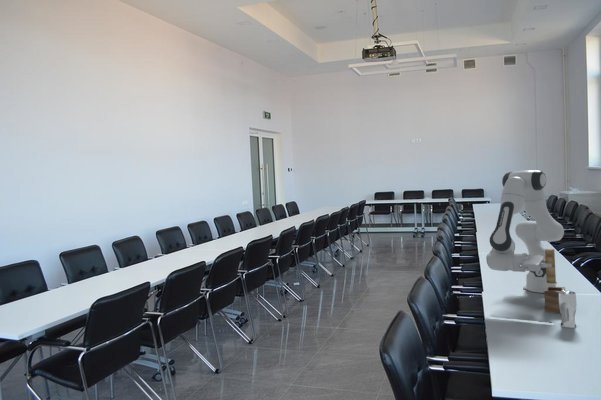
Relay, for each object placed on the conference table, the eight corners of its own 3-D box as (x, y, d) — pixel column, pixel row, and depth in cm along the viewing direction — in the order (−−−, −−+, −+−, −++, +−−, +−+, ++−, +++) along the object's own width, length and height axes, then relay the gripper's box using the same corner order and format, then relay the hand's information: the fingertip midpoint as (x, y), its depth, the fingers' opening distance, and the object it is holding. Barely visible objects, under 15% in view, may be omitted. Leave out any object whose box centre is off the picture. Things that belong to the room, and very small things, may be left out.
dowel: (546, 281, 239) (545, 248, 237) (556, 281, 237) (554, 248, 235) (546, 283, 235) (544, 250, 234) (555, 283, 233) (554, 250, 232)
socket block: (547, 305, 243) (546, 286, 242) (565, 307, 239) (565, 287, 238) (545, 311, 235) (544, 291, 234) (563, 313, 230) (563, 292, 230)
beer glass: (575, 323, 219) (573, 290, 218) (579, 328, 212) (578, 294, 211) (557, 323, 221) (556, 290, 220) (561, 328, 214) (560, 294, 213)
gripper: (517, 260, 233) (549, 262, 226) (524, 252, 250) (554, 253, 243) (517, 273, 234) (550, 275, 226) (524, 264, 251) (555, 266, 243)
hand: (552, 264), depth 235 cm, fingers closed on dowel, 4 cm apart
